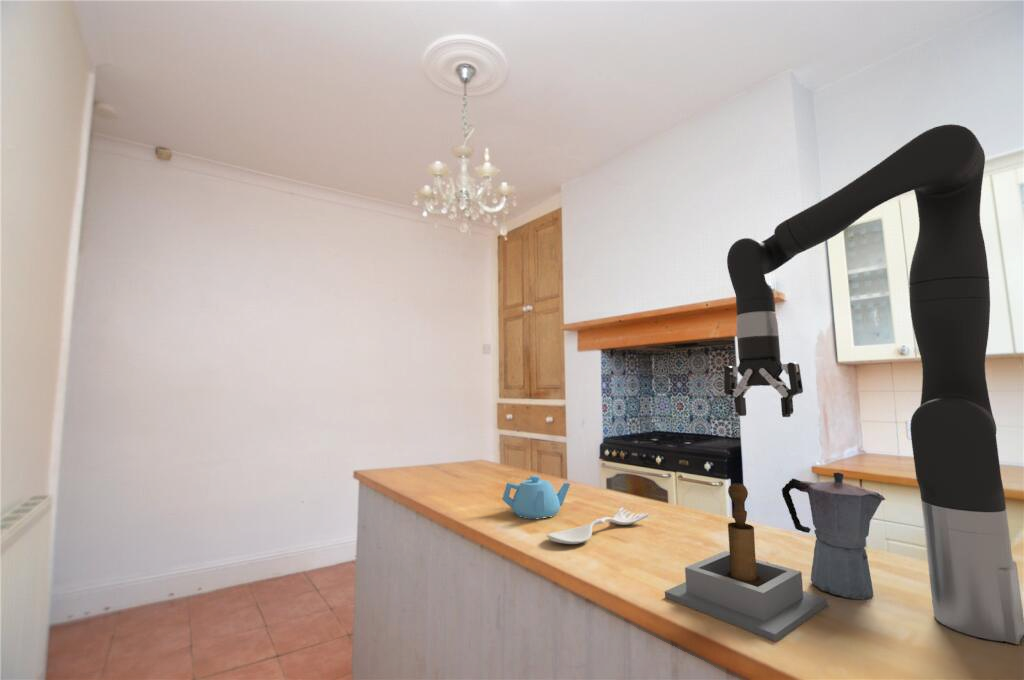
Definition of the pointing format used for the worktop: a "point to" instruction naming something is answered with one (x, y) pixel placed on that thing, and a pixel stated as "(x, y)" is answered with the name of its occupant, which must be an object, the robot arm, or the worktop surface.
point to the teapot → (535, 498)
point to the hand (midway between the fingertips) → (763, 416)
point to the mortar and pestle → (741, 541)
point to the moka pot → (838, 534)
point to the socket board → (748, 596)
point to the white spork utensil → (585, 531)
